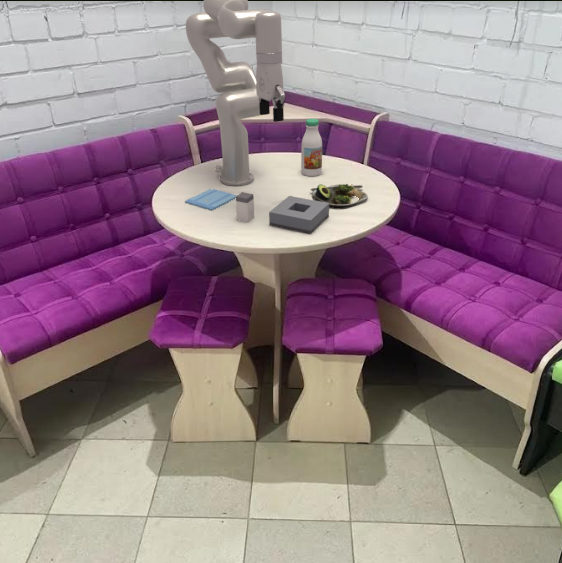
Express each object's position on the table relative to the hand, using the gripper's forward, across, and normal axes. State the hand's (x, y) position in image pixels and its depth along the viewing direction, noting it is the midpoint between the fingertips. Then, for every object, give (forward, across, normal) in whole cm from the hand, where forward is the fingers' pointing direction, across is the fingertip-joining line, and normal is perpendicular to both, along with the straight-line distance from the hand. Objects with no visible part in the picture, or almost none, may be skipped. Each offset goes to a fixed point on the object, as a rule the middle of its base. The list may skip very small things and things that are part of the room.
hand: (271, 117), depth 173 cm
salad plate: (+30, +5, +22) cm, 37 cm away
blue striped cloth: (+29, -14, -17) cm, 36 cm away
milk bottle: (+28, -20, +25) cm, 43 cm away
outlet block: (+29, +14, +2) cm, 33 cm away
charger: (+29, +5, -13) cm, 32 cm away
